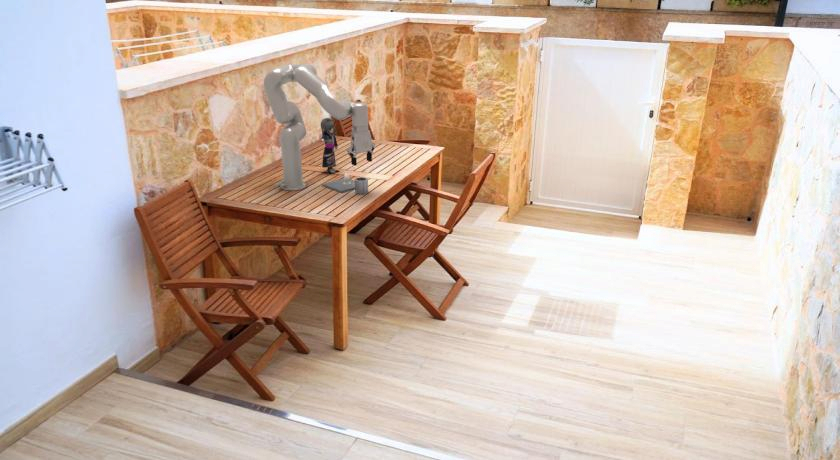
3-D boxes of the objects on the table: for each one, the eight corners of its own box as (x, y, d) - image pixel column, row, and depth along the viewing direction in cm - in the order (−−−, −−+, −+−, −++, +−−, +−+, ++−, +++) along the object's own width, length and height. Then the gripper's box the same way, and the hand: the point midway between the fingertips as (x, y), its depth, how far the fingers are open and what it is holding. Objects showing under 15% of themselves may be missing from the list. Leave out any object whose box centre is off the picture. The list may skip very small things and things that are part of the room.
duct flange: (341, 193, 336) (341, 181, 334) (322, 185, 347) (321, 174, 345) (366, 186, 347) (365, 175, 344) (346, 179, 357) (346, 168, 355)
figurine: (329, 178, 358) (327, 122, 347) (315, 177, 359) (313, 122, 348) (339, 169, 374) (337, 116, 363) (326, 169, 375) (324, 115, 364)
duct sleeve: (360, 195, 333) (360, 181, 331) (352, 192, 337) (352, 178, 335) (370, 192, 338) (370, 179, 335) (362, 189, 342) (362, 176, 339)
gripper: (351, 132, 317) (352, 168, 324) (379, 127, 329) (380, 161, 335) (341, 130, 322) (343, 165, 329) (369, 124, 334) (370, 158, 340)
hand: (361, 163), depth 332 cm, fingers open, 9 cm apart
